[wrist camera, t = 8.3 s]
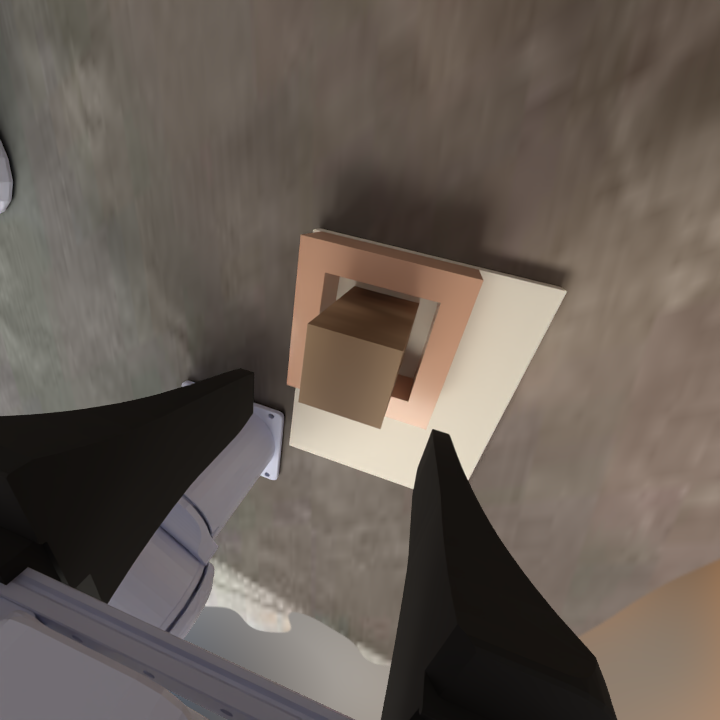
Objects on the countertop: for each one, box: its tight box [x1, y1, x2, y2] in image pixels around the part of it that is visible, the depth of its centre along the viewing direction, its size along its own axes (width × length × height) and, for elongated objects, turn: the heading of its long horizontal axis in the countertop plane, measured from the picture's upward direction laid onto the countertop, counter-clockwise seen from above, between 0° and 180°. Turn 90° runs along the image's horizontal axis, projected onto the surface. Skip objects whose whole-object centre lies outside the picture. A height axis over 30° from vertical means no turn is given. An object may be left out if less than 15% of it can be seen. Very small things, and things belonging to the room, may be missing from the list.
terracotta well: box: [287, 231, 484, 430], centre depth 18 cm, size 9×9×3 cm
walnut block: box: [298, 286, 419, 429], centre depth 16 cm, size 4×4×7 cm
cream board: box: [289, 228, 567, 489], centre depth 21 cm, size 14×17×1 cm
